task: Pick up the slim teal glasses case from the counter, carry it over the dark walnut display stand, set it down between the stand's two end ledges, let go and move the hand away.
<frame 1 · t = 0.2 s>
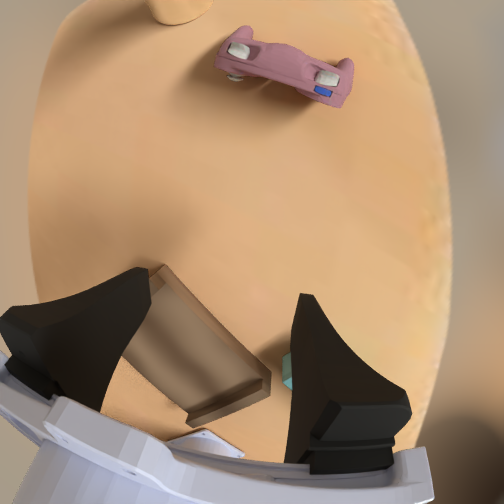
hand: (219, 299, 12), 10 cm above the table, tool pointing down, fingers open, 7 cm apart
display stand: (183, 349, 26), on the table
beer glass: (183, 3, 16), on the table
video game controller: (286, 73, 18), on the table
glasses case: (331, 373, 26), on the table
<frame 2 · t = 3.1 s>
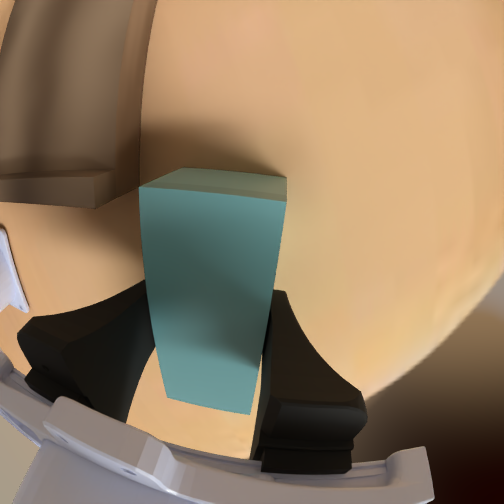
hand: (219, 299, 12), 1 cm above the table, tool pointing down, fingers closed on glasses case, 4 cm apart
display stand: (67, 57, 9), on the table
glasses case: (225, 282, 14), on the table, touching gripper
when the fingers open (5 cm above the table, at t = 7.1 s): glasses case drops 1 cm, resting on display stand.
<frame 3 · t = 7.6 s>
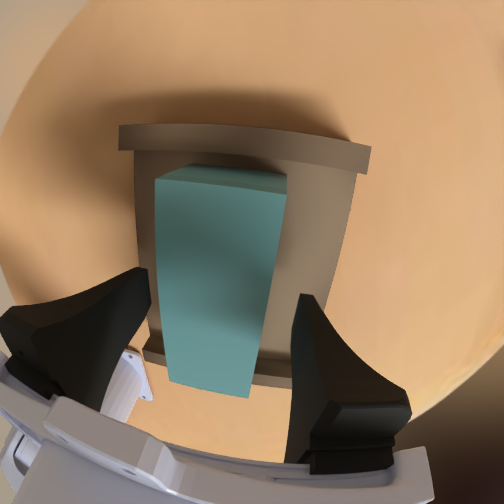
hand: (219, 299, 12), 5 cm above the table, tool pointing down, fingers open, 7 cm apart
display stand: (236, 255, 16), on the table
glasses case: (228, 271, 15), point 2 cm above the table, touching display stand
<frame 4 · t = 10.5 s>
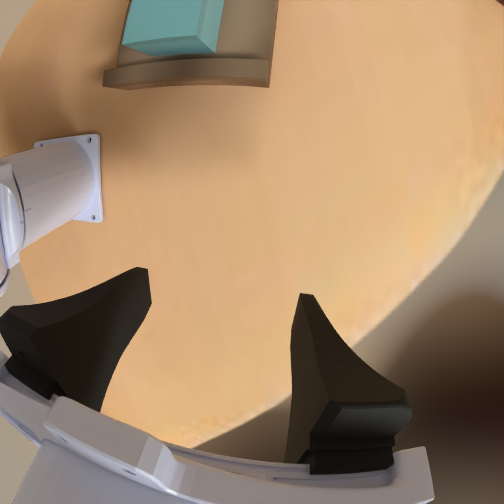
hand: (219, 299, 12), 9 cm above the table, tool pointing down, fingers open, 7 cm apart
display stand: (204, 1, 13), on the table
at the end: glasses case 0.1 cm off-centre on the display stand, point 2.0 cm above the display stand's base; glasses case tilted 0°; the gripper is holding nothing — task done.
